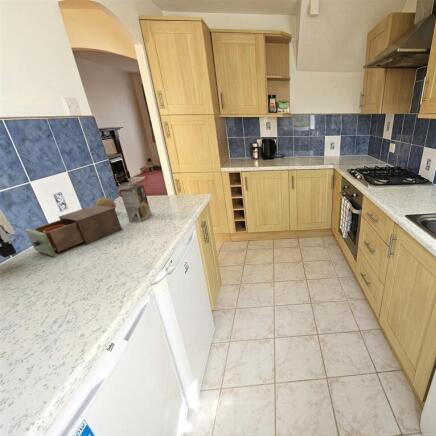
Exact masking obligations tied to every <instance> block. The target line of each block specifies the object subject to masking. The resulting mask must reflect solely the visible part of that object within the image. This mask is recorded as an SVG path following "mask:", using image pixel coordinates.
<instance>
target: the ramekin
mask: <svg viewBox="0 0 436 436" xmlns="http://www.w3.org/2000/svg"><path fill="white" fill-rule="evenodd" d="M64 226H66V225H56V226H52V227H49V228H47V229H45V230H43V233H46V235H47V237H48V239H49V242H50V244H51V246H52V247H55V245H54V243H53V241H52V239H51V236H50V234H49V231H52V230H55V229H58V228H61V227H64Z"/></svg>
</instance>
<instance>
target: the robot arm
mask: <svg viewBox="0 0 436 436" xmlns="http://www.w3.org/2000/svg"><path fill="white" fill-rule="evenodd" d="M15 234H16V231H15V230H14V228H13V227H12V225H11V223H10V222H9V220H8V219H7V217H6V216H5V214H4V213H3V211H2V210H1V209H0V256H1V257H2V258H8V257H10V256H13V255H16V254H17V250H16V249H15V247H14V245H13V243H12V242H11V241H12V240H11V239H10V237H9V235H10V236H14V235H15Z"/></svg>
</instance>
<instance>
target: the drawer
mask: <svg viewBox="0 0 436 436" xmlns="http://www.w3.org/2000/svg"><path fill="white" fill-rule="evenodd" d="M56 225H66V226H64V227H61V228H58V229H55V230H52V231H49V234H50V236H51V239H52V241H53V243H54V245H55V247H52V246H51V244H50V242H49V239H48V237H47V235H46V233H43V230H45V229H47V228H49V227H52V226H56ZM24 231H25V233H26V235H27V237H28V239H29V240H30V243H31V245H32V246H33V247H32V248H34V250H35V251H36V252H39V253H42V254H44V255H48V256H50V257H53V256H56V252H61V251H62V252H63V251H64V250H67V249H68V248H71V247H74V246H76V245H79V244H82V243H81V242H84V239H83V237H82V234H81V232H80V229H79V227H78V225H77V222H73V221H69V220H65V219H61V220H60V219H59V220H58V219H57V220H55V221H52V222H49V223H46V224H43V225H40V226H37V227H34V229H31V228H27V229H25V230H24Z"/></svg>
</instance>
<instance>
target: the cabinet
mask: <svg viewBox="0 0 436 436" xmlns="http://www.w3.org/2000/svg"><path fill="white" fill-rule="evenodd" d="M58 218H59V220H61V219H65V220H69V221H73V222H77V225H78V227H79V229H80V232H81V234H82V237H83V239H84V242H81V243H80V244H83V245H90V244H92V243H94V242H96V241H98V240H101V239H103V238H105V237H108V236H111V235H112V234H115V233H117V232H120V231H123V228H122V226H121V225H122V224H121V223H120V220H119V217H118V214H117V211H116V208H112V207H106V206H101V205H95V204H94V205H91V206H88V207H85V208H81V209H77V210H75V211H72V212H68V213H65V214H61V215H59V216H58Z"/></svg>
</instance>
